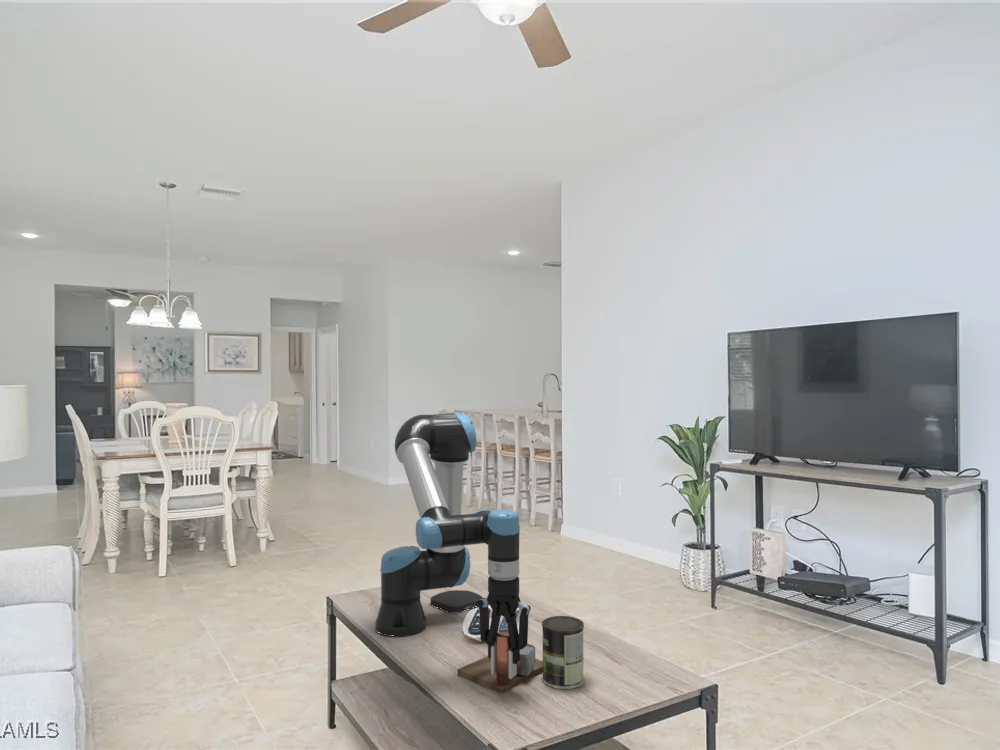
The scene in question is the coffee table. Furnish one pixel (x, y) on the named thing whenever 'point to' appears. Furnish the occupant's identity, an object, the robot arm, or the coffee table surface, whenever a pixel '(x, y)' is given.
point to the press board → (483, 676)
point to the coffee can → (563, 652)
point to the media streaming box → (455, 600)
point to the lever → (503, 659)
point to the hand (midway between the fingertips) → (503, 674)
